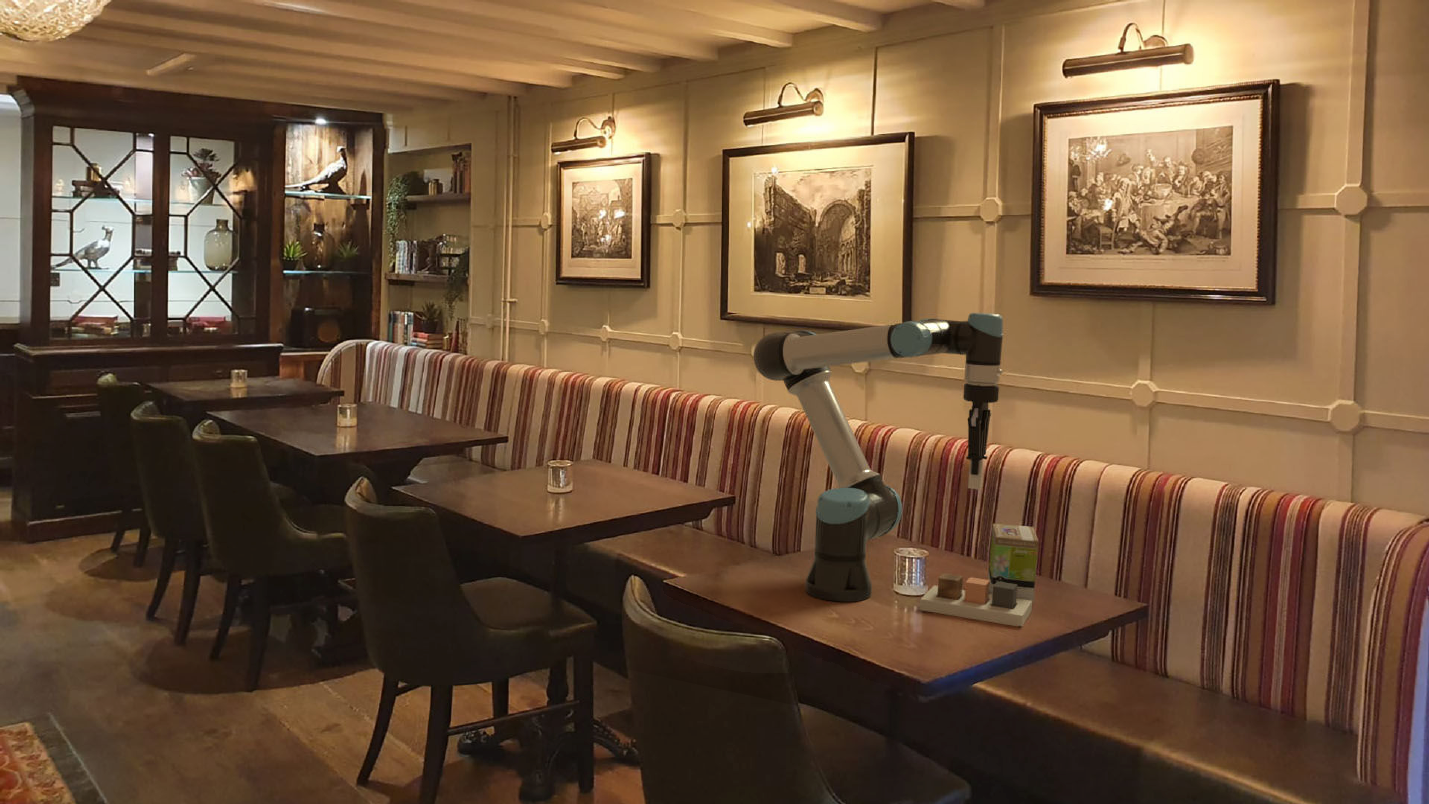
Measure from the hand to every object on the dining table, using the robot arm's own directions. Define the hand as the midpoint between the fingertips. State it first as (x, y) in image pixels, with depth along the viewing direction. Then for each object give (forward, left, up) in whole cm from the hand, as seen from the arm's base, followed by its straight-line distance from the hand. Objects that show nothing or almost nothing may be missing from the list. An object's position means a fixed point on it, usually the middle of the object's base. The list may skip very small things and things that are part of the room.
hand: (974, 488), depth 247 cm
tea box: (+7, +14, -27) cm, 31 cm away
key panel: (+3, -5, -26) cm, 27 cm away
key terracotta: (+3, -5, -25) cm, 25 cm away
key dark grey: (+9, -5, -25) cm, 27 cm away
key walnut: (-3, -5, -25) cm, 25 cm away
